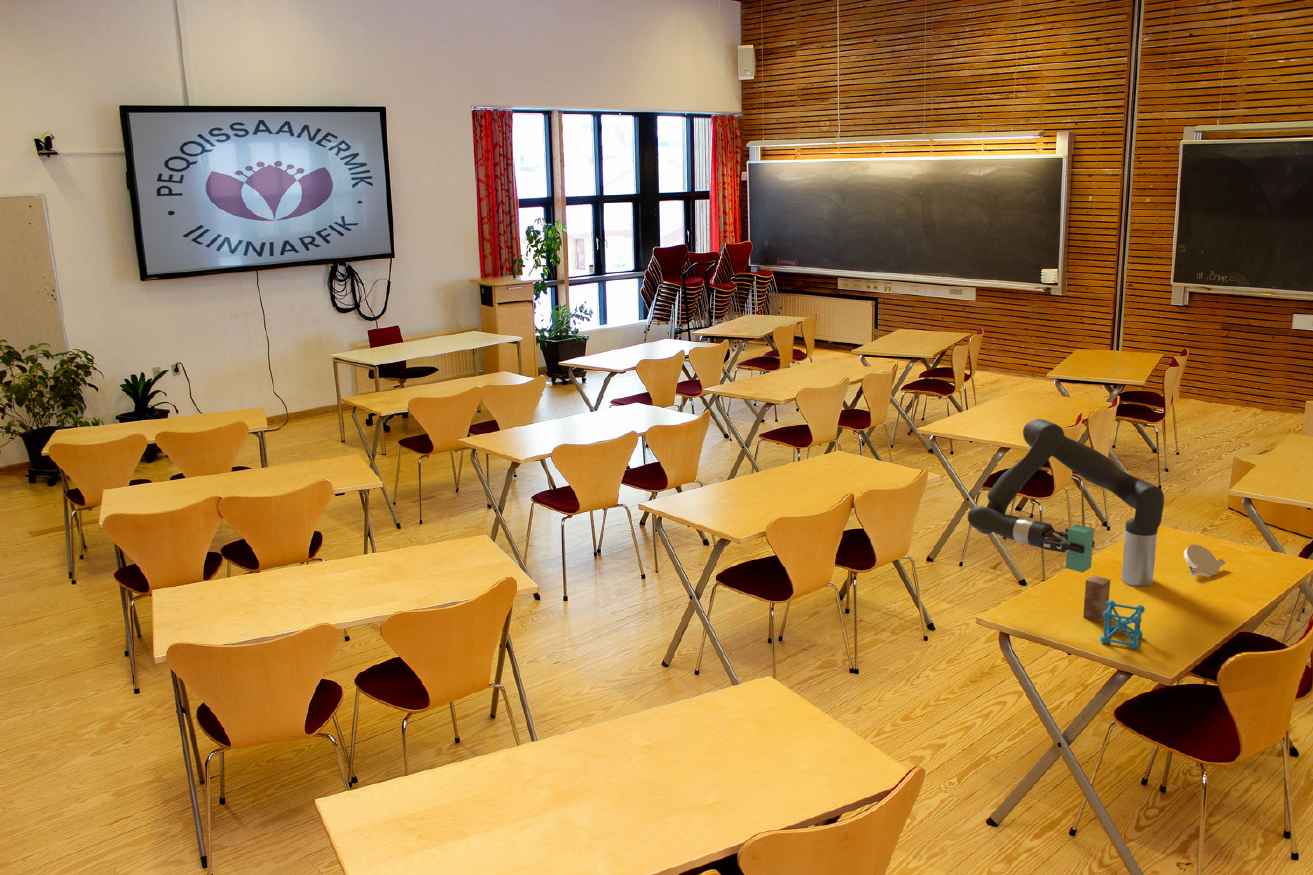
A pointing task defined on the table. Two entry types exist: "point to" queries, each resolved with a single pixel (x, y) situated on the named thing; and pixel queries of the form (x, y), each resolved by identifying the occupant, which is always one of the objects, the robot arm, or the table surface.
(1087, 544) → the teal pillar
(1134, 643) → the molecular structure
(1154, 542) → the robot arm
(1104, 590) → the walnut pillar
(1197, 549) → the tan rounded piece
